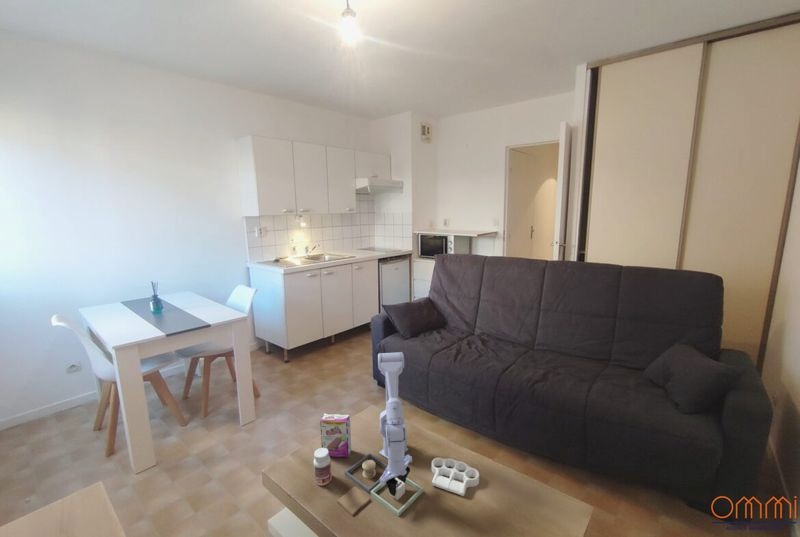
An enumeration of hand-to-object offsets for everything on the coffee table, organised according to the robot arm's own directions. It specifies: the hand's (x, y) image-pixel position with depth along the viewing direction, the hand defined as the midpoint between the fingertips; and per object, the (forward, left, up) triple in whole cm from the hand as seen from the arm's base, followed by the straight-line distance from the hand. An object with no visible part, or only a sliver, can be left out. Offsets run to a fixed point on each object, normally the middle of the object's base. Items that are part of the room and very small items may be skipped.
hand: (396, 490), depth 122 cm
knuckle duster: (-19, +11, -2) cm, 22 cm away
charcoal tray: (0, -14, -1) cm, 14 cm away
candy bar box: (+1, -32, -2) cm, 32 cm away
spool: (0, -14, -2) cm, 14 cm away
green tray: (0, 0, -1) cm, 1 cm away
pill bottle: (+13, -25, -2) cm, 28 cm away
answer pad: (+12, -9, -1) cm, 15 cm away
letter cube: (0, 0, -1) cm, 1 cm away
